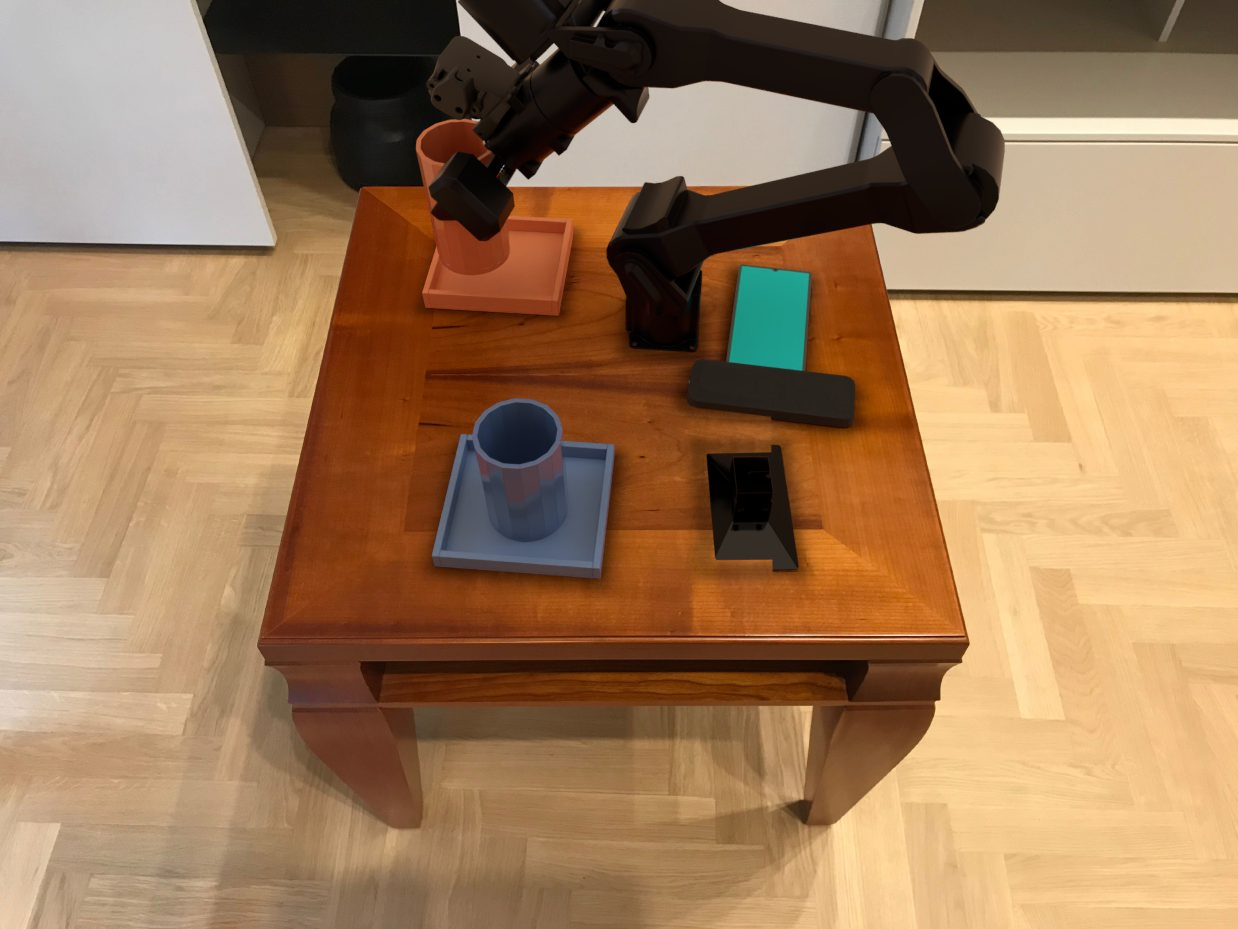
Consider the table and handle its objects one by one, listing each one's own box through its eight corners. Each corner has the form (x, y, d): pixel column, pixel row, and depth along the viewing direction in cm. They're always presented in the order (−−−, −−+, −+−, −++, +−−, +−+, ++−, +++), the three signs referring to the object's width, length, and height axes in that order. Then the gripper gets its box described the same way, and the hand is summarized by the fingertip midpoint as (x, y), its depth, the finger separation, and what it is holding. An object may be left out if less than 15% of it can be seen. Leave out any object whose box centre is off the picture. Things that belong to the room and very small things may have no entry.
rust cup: (525, 248, 90) (512, 139, 81) (473, 285, 87) (454, 176, 78) (476, 219, 93) (457, 109, 84) (424, 254, 90) (399, 144, 81)
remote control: (853, 388, 86) (690, 365, 87) (858, 376, 85) (692, 353, 86) (852, 432, 84) (684, 408, 85) (856, 421, 82) (686, 396, 83)
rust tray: (573, 234, 99) (572, 218, 98) (558, 316, 92) (557, 300, 90) (449, 227, 100) (446, 211, 98) (425, 307, 93) (421, 292, 91)
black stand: (798, 572, 75) (807, 541, 71) (706, 573, 75) (710, 542, 71) (780, 447, 82) (787, 413, 78) (696, 448, 82) (699, 414, 78)
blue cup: (572, 478, 80) (567, 401, 72) (563, 544, 76) (555, 471, 68) (495, 472, 80) (481, 395, 72) (481, 538, 76) (465, 464, 68)
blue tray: (614, 458, 82) (614, 444, 80) (600, 581, 74) (600, 568, 73) (463, 447, 82) (460, 433, 81) (435, 569, 75) (431, 555, 73)
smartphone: (724, 373, 86) (739, 263, 95) (723, 379, 87) (738, 270, 96) (805, 383, 85) (813, 271, 94) (804, 389, 86) (811, 278, 95)
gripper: (526, -40, 76) (424, 67, 87) (432, 85, 66) (330, 189, 76) (620, 66, 81) (513, 155, 92) (547, 199, 70) (435, 281, 81)
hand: (451, 191), depth 85 cm, fingers closed on rust cup, 7 cm apart
